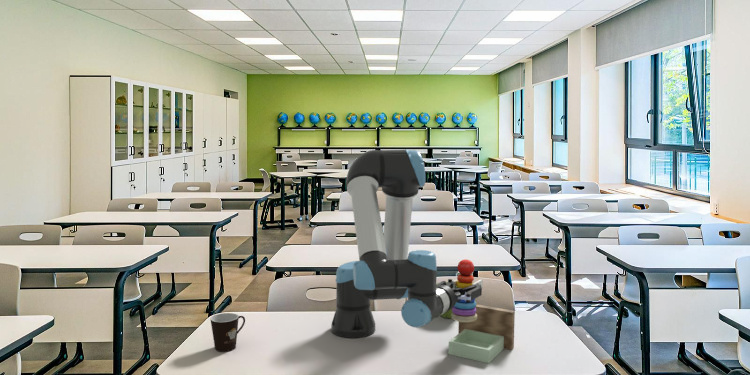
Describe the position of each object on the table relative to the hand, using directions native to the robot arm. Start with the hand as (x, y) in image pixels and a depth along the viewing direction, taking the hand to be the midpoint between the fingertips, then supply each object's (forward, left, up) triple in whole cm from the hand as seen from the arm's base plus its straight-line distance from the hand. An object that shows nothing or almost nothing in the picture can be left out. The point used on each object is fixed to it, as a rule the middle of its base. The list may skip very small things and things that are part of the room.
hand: (471, 282), depth 180 cm
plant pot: (-17, +23, -21) cm, 35 cm away
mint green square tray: (+4, -4, -20) cm, 21 cm away
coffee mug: (-64, -41, -21) cm, 79 cm away
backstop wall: (+4, +4, -21) cm, 21 cm away
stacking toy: (0, -5, -11) cm, 12 cm away
